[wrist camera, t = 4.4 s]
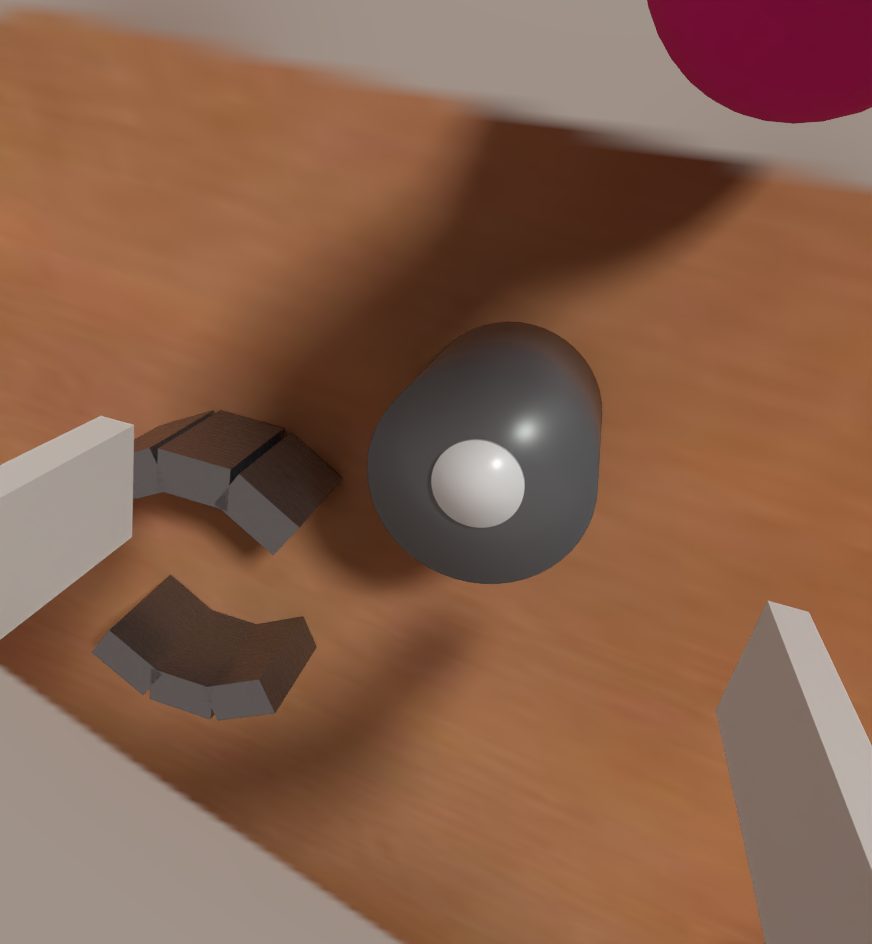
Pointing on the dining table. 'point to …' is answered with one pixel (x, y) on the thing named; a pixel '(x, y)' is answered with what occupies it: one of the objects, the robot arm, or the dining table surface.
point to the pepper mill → (773, 54)
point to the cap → (491, 455)
